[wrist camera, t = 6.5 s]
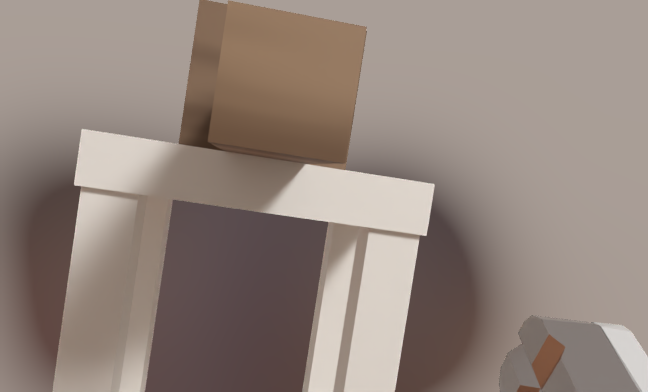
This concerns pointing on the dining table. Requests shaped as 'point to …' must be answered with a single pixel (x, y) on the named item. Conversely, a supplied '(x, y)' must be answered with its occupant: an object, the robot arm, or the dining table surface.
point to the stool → (249, 194)
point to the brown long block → (272, 84)
